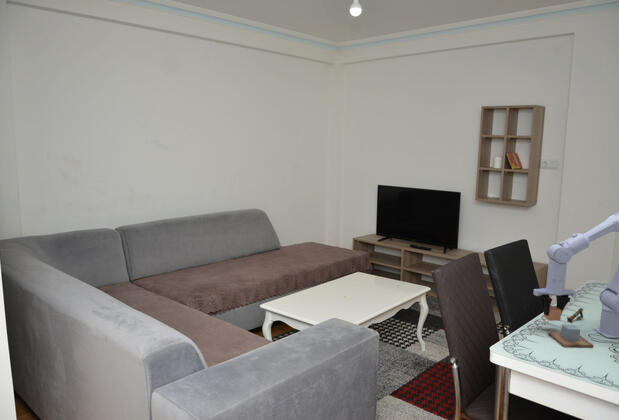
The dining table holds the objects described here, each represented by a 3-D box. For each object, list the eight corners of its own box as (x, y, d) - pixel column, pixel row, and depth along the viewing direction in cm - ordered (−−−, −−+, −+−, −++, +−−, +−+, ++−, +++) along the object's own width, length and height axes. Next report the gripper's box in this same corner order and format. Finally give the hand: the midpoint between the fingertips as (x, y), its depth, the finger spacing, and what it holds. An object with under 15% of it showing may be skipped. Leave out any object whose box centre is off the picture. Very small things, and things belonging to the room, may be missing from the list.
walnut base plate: (575, 335, 166) (575, 332, 166) (593, 347, 156) (593, 345, 156) (547, 334, 166) (548, 332, 166) (563, 347, 156) (564, 344, 156)
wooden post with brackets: (586, 317, 182) (584, 307, 181) (573, 328, 179) (571, 318, 178) (581, 315, 184) (580, 305, 182) (568, 326, 181) (566, 316, 179)
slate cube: (572, 335, 163) (573, 324, 163) (578, 340, 159) (580, 329, 159) (560, 335, 163) (562, 324, 163) (567, 340, 159) (568, 329, 159)
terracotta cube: (554, 316, 171) (555, 306, 171) (560, 320, 167) (561, 310, 167) (543, 316, 171) (544, 305, 171) (549, 320, 167) (550, 309, 167)
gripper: (569, 275, 171) (565, 310, 173) (530, 274, 171) (527, 310, 173) (581, 281, 164) (576, 318, 166) (540, 280, 164) (536, 317, 166)
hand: (552, 314), depth 169 cm, fingers closed on terracotta cube, 4 cm apart
